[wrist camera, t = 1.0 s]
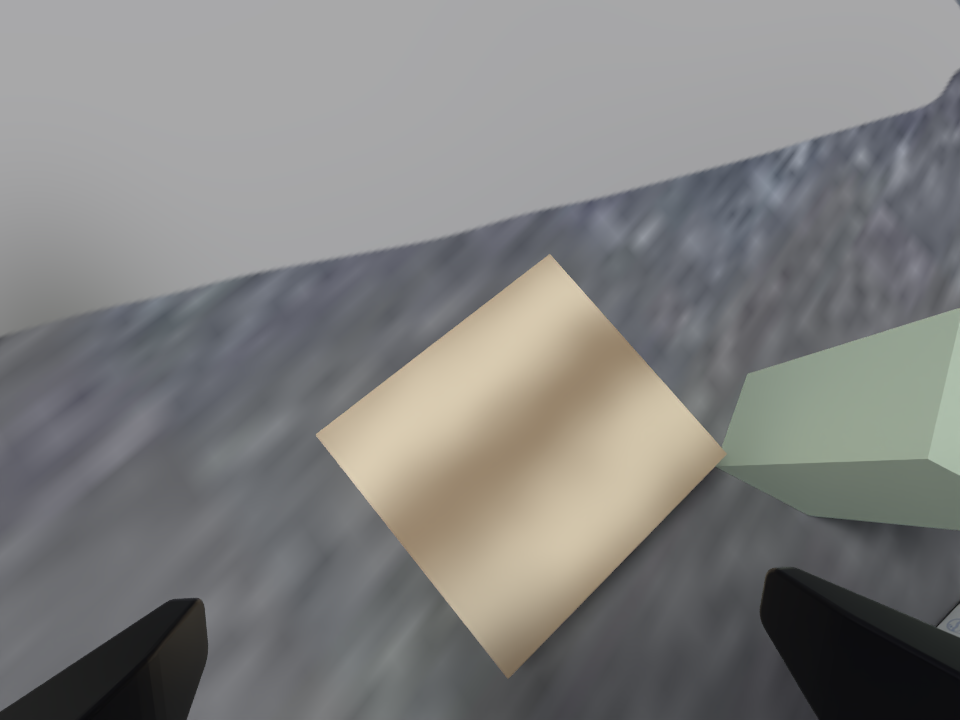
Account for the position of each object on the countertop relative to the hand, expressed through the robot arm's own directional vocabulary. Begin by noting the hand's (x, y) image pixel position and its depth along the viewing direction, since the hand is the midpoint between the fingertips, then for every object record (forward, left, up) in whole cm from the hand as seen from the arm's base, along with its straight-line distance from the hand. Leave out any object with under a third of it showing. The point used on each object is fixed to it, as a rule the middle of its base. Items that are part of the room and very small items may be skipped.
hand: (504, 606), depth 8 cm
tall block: (-7, -14, -14) cm, 21 cm away
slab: (+1, -4, -14) cm, 14 cm away
